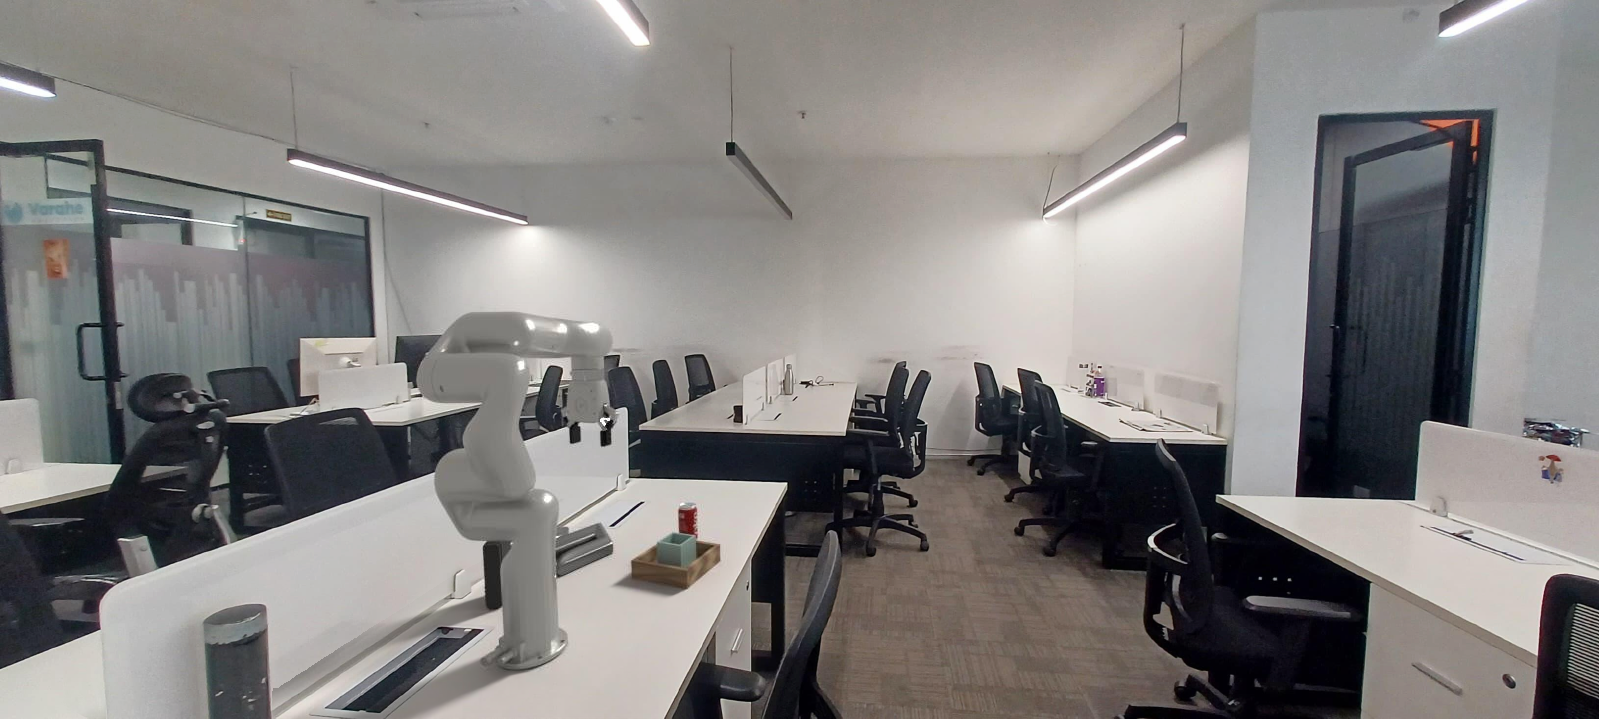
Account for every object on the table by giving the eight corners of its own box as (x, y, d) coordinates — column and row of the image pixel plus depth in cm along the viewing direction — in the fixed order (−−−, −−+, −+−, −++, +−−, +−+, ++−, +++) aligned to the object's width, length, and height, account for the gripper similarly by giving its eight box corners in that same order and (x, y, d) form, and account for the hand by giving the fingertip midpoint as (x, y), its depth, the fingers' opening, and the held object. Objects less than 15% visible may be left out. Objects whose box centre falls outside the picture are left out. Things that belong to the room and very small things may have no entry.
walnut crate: (687, 588, 129) (686, 570, 128) (631, 577, 134) (631, 560, 134) (720, 560, 143) (720, 544, 143) (669, 552, 149) (668, 536, 149)
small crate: (681, 573, 134) (680, 545, 134) (657, 569, 137) (656, 542, 136) (696, 561, 141) (695, 535, 140) (673, 557, 143) (672, 531, 143)
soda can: (691, 541, 156) (690, 500, 156) (701, 546, 153) (700, 504, 152) (675, 546, 153) (674, 505, 152) (685, 552, 149) (684, 509, 148)
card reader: (495, 591, 128) (492, 529, 127) (514, 588, 129) (511, 527, 128) (483, 611, 119) (479, 544, 118) (503, 608, 120) (500, 542, 119)
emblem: (536, 518, 162) (629, 517, 162) (537, 535, 163) (629, 535, 162) (480, 559, 134) (591, 558, 134) (481, 580, 135) (592, 579, 134)
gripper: (549, 376, 133) (552, 444, 135) (605, 378, 127) (607, 450, 128) (572, 373, 140) (575, 438, 142) (626, 375, 134) (628, 443, 135)
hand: (590, 444), depth 135 cm, fingers open, 9 cm apart
